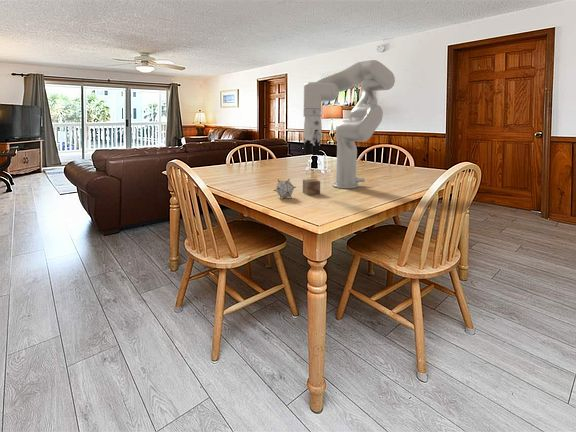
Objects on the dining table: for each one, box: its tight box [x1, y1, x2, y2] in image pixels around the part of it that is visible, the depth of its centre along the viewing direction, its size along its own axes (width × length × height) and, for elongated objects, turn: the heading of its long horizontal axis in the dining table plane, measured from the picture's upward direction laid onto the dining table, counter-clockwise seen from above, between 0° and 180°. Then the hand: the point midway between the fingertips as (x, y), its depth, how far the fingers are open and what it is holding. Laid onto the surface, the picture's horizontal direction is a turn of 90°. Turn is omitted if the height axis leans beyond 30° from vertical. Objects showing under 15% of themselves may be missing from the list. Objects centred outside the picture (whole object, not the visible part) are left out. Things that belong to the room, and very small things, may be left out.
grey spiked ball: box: [273, 178, 297, 200], centre depth 152 cm, size 9×8×10 cm
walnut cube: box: [302, 178, 321, 196], centre depth 161 cm, size 6×6×6 cm
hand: (311, 154), depth 157 cm, fingers open, 9 cm apart
